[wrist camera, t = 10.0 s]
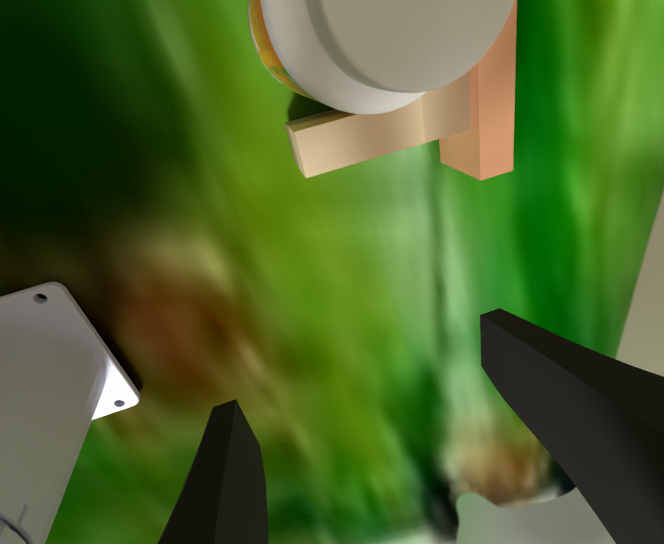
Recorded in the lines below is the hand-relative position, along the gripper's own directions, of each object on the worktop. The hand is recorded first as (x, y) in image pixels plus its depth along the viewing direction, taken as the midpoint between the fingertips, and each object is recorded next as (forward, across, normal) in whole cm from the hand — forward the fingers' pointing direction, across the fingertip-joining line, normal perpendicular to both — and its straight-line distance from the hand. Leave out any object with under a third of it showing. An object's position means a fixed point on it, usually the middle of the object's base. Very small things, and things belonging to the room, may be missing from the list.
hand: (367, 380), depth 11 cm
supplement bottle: (+10, -3, -9) cm, 14 cm away
